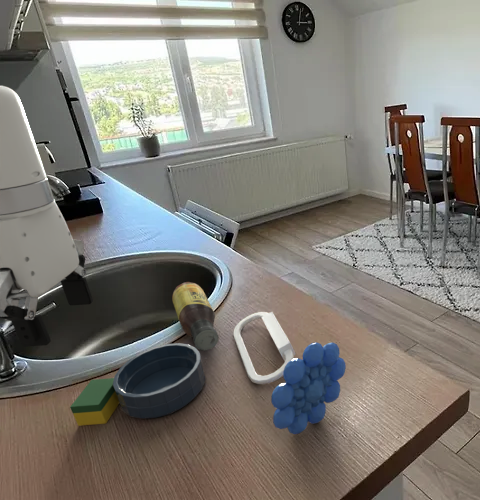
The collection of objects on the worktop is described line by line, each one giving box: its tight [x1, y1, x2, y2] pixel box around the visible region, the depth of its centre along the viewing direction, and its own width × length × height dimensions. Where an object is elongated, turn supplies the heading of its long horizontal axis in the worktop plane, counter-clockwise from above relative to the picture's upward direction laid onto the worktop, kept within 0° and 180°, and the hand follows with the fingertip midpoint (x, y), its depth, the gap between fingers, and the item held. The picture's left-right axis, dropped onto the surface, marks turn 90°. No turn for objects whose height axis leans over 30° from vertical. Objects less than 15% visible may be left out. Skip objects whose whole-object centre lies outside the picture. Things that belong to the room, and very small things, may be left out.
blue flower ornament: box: [270, 342, 347, 435], centre depth 55 cm, size 12×7×12 cm, turn 130°
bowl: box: [113, 342, 207, 419], centre depth 63 cm, size 12×12×4 cm
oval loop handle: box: [232, 311, 297, 385], centre depth 71 cm, size 20×8×4 cm, turn 25°
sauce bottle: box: [171, 281, 219, 352], centre depth 79 cm, size 6×6×20 cm
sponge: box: [69, 377, 120, 427], centre depth 61 cm, size 4×6×4 cm
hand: (61, 322), depth 55 cm, fingers open, 9 cm apart
